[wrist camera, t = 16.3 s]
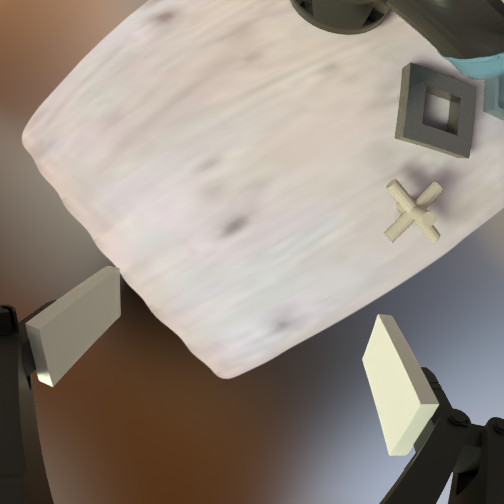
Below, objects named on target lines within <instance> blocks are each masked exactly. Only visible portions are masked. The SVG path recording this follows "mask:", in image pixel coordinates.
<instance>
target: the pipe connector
mask: <svg viewBox="0 0 504 504" xmlns="http://www.w3.org/2000/svg"><path fill="white" fill-rule="evenodd" d="M386 189H387V190H388V191H389V192H390V193H391V194H392V195H393V197H394V198H395V199H396V200H397V201H398V202H397V204H396V208H397V210H398V211H399V212H401V213H403V214H402V215H401V216H400V217H399V218H398V219H397V220H396V221H395V222H394V223H393V224H392V225H391V226H390V227H389V228H388V229H387V230H386V231H385V232H384V234H385V235H386V236H387V238H388V239H389V240H390V241H391V242H392V243H393V242H394V241H395V240H396V239H397V238H398V237H399V236H400V235H401V234H402V233H403V232H404V231H405V230H406V229H407V228H408V227H409V226H410V225H411V224H412V223H413V222H415V223H416V224H417V226H418V227H419V228H420V229H421V231H422V232H423V233H424V235H425V236H426V237H427V238H428V240H429V241H430V242H431V243H434V242H436V241H437V240H438V239H439V238H440V234H439V232H438V231H437V229H436V228H435V227H434V225H433V224H434V223H435V215H434V213H432V212H431V211H428V210H426V209H427V208H428V207H429V205H430V204H431V203H432V202H433V201H434V200H435V199H436V198H437V197H438V196H439V195H440V194H441V193H442V192H443V189H442V188H441V186H440V185H439V184H438V183H437V182H435V181H434V182H433V183H432V184H431V185H430V186H429V187H428V188H427V189H426V190H425V191H424V192H423V193H422V194H421V195H420V196H419V197H418V198H417V199H416V201H414V200H413V199H412V197H411V196H410V195H409V194H408V193H407V191H406V190H405V189H404V188H403V187H402V185H401V184H400V183H399V182H398V181H397V179H393V180H392V181H391V182H389V183H388V185H387V186H386Z"/></svg>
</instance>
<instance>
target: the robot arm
mask: <svg viewBox="0 0 504 504" xmlns="http://www.w3.org/2000/svg"><path fill="white" fill-rule="evenodd" d="M290 1H291V3H292V5H293V7H294V8H295V10H296V11H297V12H298V13H299V15H300V16H302V17H303V18H304V19H305V20H306V21H308V22H309V23H311V24H312V25H314V26H316V27H318V28H320V29H323V30H325V31H328V32H332V33H337V34H346V35H351V34H360V33H364V32H367V31H369V30H371V29H373V28H375V27H376V26H378V25H379V24H380V23H381V22H382V20H383V19H384V17H385V16H386V15H387V13H388V11H389V8H390V9H391V10H392V11H394V12H395V13H396V14H397V15H399V16H400V17H401V18H402V19H404V20H405V21H406V22H407V23H408V24H410V25H411V26H412V27H413V28H414V29H415V30H417V31H418V32H419V33H420V34H421V35H422V36H423V37H425V38H426V39H427V40H428V41H429V42H430V43H431V44H432V45H433V46H434V47H435V48H436V49H437V51H438V53H439V54H440V55H441V56H442V57H444V58H445V59H447V60H449V61H450V62H451V63H452V64H453V65H454V66H455V67H456V68H457V69H458V70H459V71H460V72H461V73H462V74H464V75H465V76H468V77H470V78H472V79H478V80H484V79H491V78H495V77H498V76H501V75H503V74H504V0H290ZM120 315H121V312H120V268H115V267H110V266H106V267H104V268H103V269H102V270H100V271H99V272H97V273H96V274H94V275H93V276H91V277H90V278H88V279H87V280H85V281H84V282H82V283H81V284H80V285H78V286H77V287H75V288H74V289H72V290H71V291H69V292H68V293H67V294H65V295H64V296H63V297H61V298H60V299H58V300H54V301H51V302H48V303H46V304H44V305H43V306H41V307H40V308H39V309H37V310H36V311H34V313H31V314H30V315H29V316H28V317H26V318H24V319H23V320H22V321H20V322H19V323H18V321H17V315H16V311H15V308H14V307H12V306H10V305H0V504H54V503H53V499H52V495H51V491H50V487H49V483H48V479H47V475H46V470H45V466H44V461H43V456H42V450H41V445H40V440H39V433H38V426H37V418H36V410H35V401H34V390H33V380H32V376H31V374H32V373H33V372H34V370H36V371H37V375H38V378H39V381H41V382H44V383H46V384H48V385H50V386H54V385H55V384H56V383H57V382H58V381H59V379H60V378H61V377H62V376H63V375H64V374H65V373H66V372H67V371H68V370H69V369H70V367H72V365H73V364H74V363H75V362H76V361H77V360H78V359H79V358H80V357H81V356H82V355H83V354H84V353H85V352H86V351H87V349H89V347H90V346H91V345H92V344H93V343H94V342H95V341H96V340H97V339H98V338H99V337H100V336H101V335H102V334H103V333H104V332H105V331H106V330H107V328H109V327H110V326H111V325H112V324H113V322H115V320H116V319H117V318H118V317H119V316H120ZM362 360H363V363H364V367H365V370H366V373H367V377H368V380H369V383H370V387H371V390H372V394H373V397H374V401H375V404H376V408H377V411H378V415H379V419H380V422H381V426H382V430H383V433H384V437H385V441H386V445H387V449H388V453H389V456H399V455H407V454H408V452H409V451H410V450H411V448H412V446H413V445H414V448H415V451H416V454H415V455H414V456H413V458H412V459H411V460H410V462H409V463H408V464H407V466H406V467H405V469H404V471H403V472H402V474H401V475H400V477H399V478H398V480H397V481H396V482H395V484H394V485H393V487H392V488H391V489H390V491H389V492H388V493H387V494H386V496H385V497H384V499H383V500H382V501H381V502H380V504H436V502H437V501H438V499H439V497H440V495H441V493H442V491H443V489H444V487H445V485H446V483H447V481H448V479H449V477H450V475H451V473H452V472H453V478H452V484H451V490H450V495H449V501H448V504H504V419H501V418H498V417H493V418H491V419H490V420H488V422H487V423H486V425H485V426H481V425H475V424H471V421H470V419H469V417H468V416H467V415H466V414H465V413H464V412H462V411H460V410H457V409H453V408H452V407H451V404H450V403H449V401H448V399H447V397H446V395H445V393H444V391H443V390H442V388H441V386H440V384H438V383H439V382H438V380H437V379H436V377H435V375H434V374H433V373H432V372H431V371H430V370H429V369H428V368H424V367H420V365H419V364H418V362H417V360H416V358H415V357H414V354H413V353H412V351H411V349H410V347H409V345H408V344H407V342H406V340H405V338H404V336H403V335H402V333H401V331H400V329H399V327H398V326H397V324H396V322H395V320H394V319H393V317H392V316H389V315H382V314H378V316H377V320H376V322H375V325H374V328H373V331H372V334H371V337H370V340H369V343H368V345H367V348H366V351H365V354H364V357H363V359H362Z"/></svg>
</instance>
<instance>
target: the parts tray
mask: <svg viewBox="0 0 504 504" xmlns="http://www.w3.org/2000/svg"><path fill="white" fill-rule="evenodd" d="M484 111H485V112H487V113H489V114H491V115H493V116H495V117H497V118H500V119H502V120H504V74H503V75H501V76H498V77H495V78H491V79H485V93H484Z"/></svg>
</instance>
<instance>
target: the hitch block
mask: <svg viewBox="0 0 504 504" xmlns="http://www.w3.org/2000/svg"><path fill="white" fill-rule="evenodd" d="M426 92H427V93H430V94H433V95H436V96H438V97H441V98H444V99H447V100H449V101H450V109H449V119H448V128H447V132H445V131H442V130H440V129H437V128H434V127H431V126H427V125H424V124H422V122H423V114H424V104H425V94H426ZM475 93H476V88H475V87H473V86H471V85H468V84H466V83H464V82H461V81H459V80H457V79H454V78H452V77H449V76H447V75H444V74H441V73H439V72H436V71H433V70H431V69H428V68H425V67H422V66H419V65H416V64H413V63H409V64H408V65H407V66H405V67H404V68H403V69H402V81H401V91H400V101H399V109H398V118H397V125H396V133H395V139H399V140H403V141H406V142H410V143H413V144H417V145H420V146H423V147H427V148H430V149H433V150H436V151H440V152H443V153H446V154H449V155H452V156H455V157H458V158H469V155H470V148H471V140H472V131H473V121H474V109H475Z"/></svg>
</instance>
